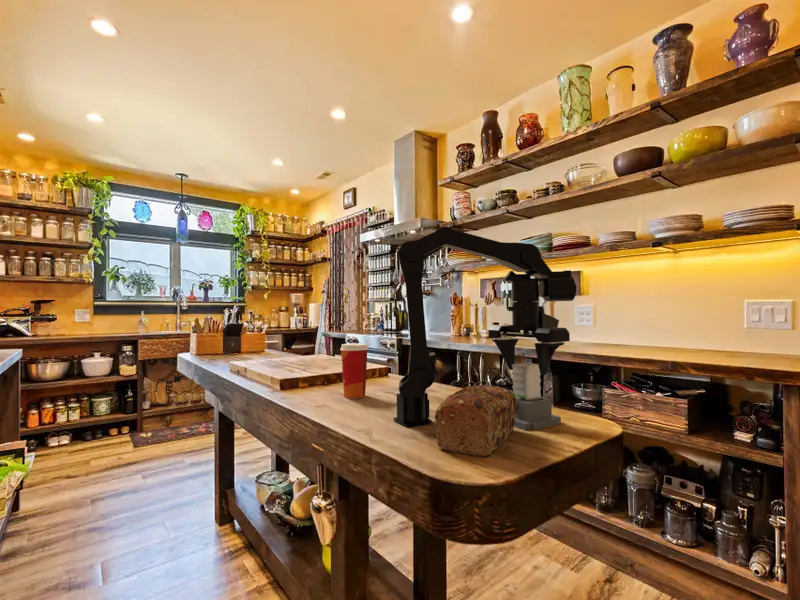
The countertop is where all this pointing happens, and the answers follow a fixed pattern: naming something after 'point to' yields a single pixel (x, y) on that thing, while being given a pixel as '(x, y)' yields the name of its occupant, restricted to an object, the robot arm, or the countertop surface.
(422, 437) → the countertop surface
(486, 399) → the bread
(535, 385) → the column
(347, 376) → the coffee cup
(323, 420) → the countertop surface
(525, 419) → the stand base
